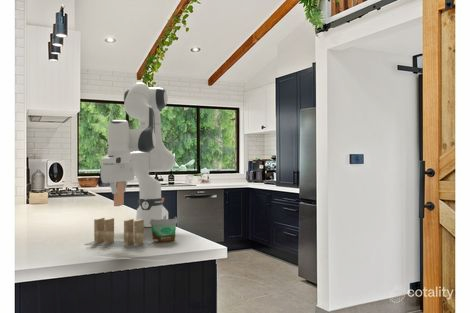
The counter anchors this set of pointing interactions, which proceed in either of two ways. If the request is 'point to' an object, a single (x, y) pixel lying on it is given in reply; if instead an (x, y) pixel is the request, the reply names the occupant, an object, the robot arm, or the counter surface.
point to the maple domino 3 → (128, 232)
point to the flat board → (119, 244)
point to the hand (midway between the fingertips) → (118, 193)
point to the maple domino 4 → (139, 232)
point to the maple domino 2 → (108, 231)
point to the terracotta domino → (119, 194)
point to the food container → (163, 230)
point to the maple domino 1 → (99, 230)
